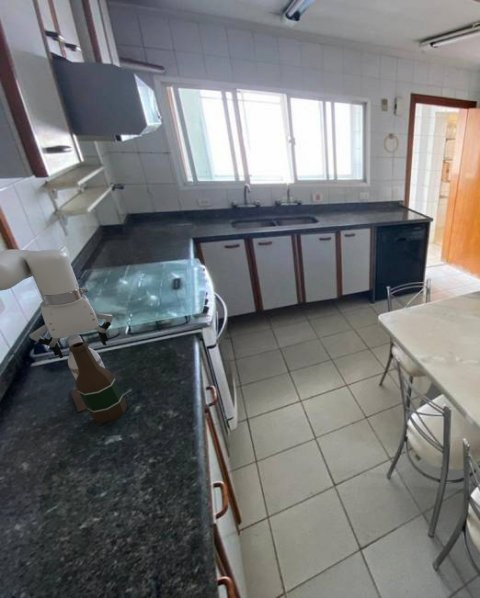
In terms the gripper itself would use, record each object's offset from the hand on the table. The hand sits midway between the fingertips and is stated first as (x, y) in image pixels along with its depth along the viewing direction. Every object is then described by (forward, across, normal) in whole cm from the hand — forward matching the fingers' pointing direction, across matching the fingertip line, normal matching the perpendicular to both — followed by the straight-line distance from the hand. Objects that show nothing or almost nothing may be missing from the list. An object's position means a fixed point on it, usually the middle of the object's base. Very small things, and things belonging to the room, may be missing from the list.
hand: (83, 349), depth 96 cm
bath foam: (+16, 0, 0) cm, 16 cm away
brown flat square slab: (+16, 0, 0) cm, 16 cm away
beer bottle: (+16, 0, +13) cm, 21 cm away
